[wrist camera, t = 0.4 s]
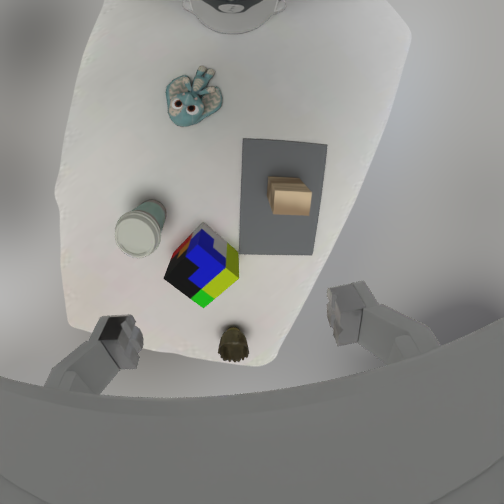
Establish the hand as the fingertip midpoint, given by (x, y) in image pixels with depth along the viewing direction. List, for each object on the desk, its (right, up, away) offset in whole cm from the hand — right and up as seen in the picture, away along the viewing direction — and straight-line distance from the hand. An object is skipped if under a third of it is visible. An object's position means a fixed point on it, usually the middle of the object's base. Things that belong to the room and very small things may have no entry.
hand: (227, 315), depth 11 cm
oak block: (+7, +15, +42) cm, 45 cm away
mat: (+7, +13, +44) cm, 46 cm away
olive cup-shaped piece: (-4, -18, +60) cm, 63 cm away
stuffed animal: (-9, +31, +33) cm, 46 cm away
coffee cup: (-19, +11, +43) cm, 49 cm away
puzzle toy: (-9, +3, +48) cm, 49 cm away
